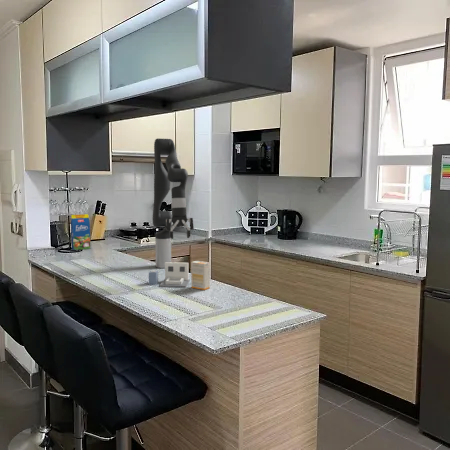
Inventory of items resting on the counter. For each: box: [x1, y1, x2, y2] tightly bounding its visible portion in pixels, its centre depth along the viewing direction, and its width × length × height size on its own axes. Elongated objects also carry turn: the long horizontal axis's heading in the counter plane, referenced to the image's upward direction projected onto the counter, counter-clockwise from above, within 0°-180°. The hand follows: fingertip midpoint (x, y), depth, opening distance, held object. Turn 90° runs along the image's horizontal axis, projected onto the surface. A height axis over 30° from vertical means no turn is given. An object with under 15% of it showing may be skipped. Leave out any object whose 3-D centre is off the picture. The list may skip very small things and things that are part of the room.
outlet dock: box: [159, 261, 190, 288], centre depth 232 cm, size 13×13×10 cm
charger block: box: [148, 270, 159, 285], centre depth 233 cm, size 4×4×6 cm
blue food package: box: [70, 213, 91, 251], centre depth 329 cm, size 6×12×25 cm, turn 121°
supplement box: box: [190, 260, 211, 291], centre depth 224 cm, size 8×5×13 cm, turn 56°
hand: (180, 238), depth 237 cm, fingers open, 8 cm apart
